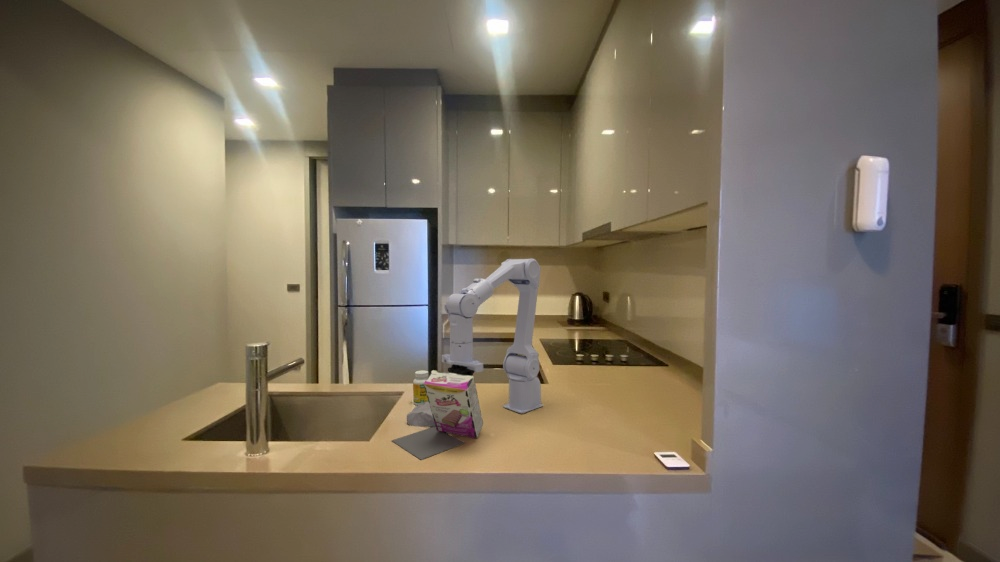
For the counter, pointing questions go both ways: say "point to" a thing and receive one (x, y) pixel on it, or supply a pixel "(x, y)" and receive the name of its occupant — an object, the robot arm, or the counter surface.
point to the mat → (427, 443)
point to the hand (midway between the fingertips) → (461, 395)
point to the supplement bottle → (420, 387)
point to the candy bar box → (454, 403)
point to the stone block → (421, 416)
